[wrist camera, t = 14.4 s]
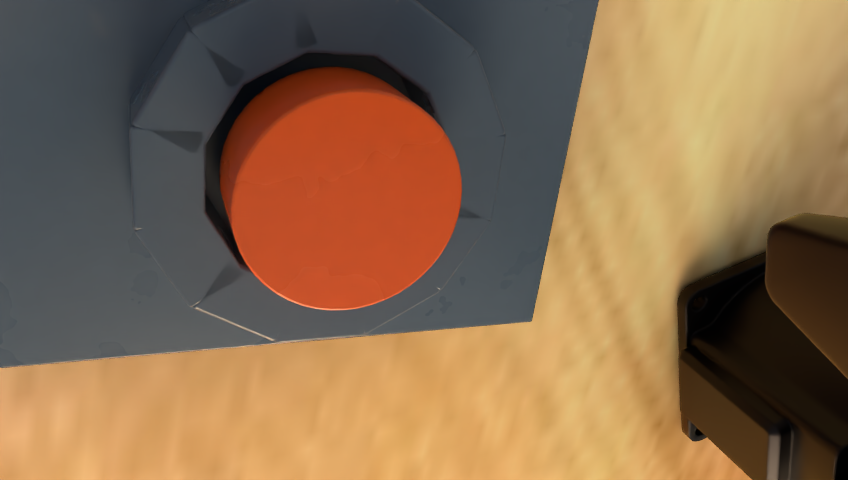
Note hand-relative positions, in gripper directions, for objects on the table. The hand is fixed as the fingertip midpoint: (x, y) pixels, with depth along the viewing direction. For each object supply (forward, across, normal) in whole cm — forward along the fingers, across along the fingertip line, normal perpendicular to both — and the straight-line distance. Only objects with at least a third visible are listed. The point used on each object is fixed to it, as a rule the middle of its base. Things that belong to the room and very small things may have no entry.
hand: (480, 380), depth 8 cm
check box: (+10, 0, 0) cm, 10 cm away
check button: (+7, 0, 0) cm, 7 cm away
